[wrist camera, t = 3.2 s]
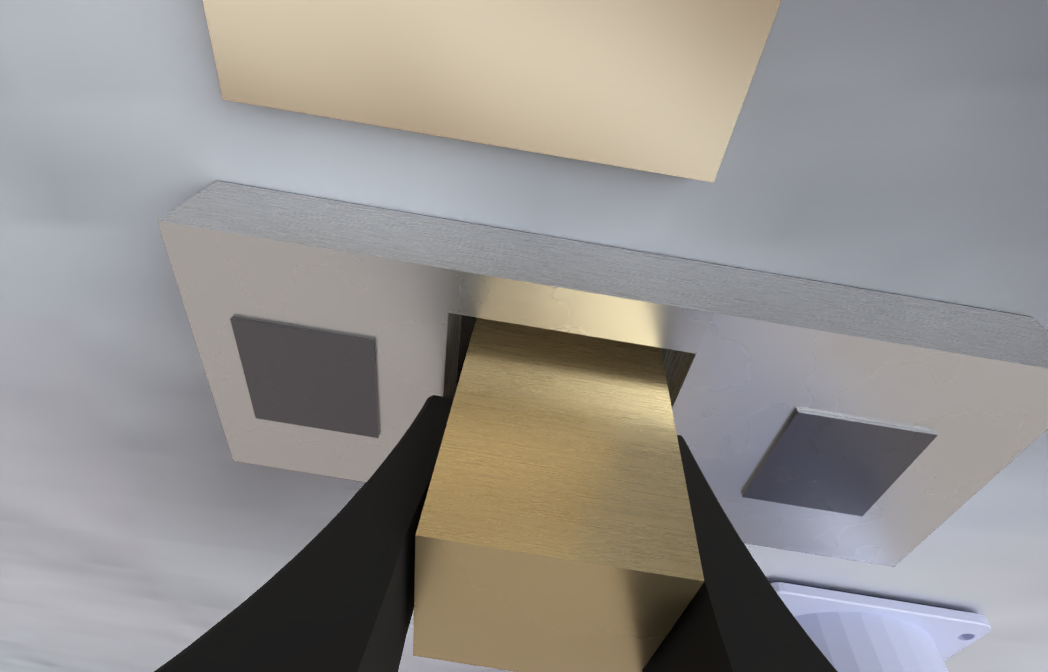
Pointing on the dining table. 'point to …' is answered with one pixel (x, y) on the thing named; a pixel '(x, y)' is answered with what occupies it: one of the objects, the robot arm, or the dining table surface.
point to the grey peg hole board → (617, 314)
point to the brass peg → (555, 509)
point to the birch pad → (508, 71)
